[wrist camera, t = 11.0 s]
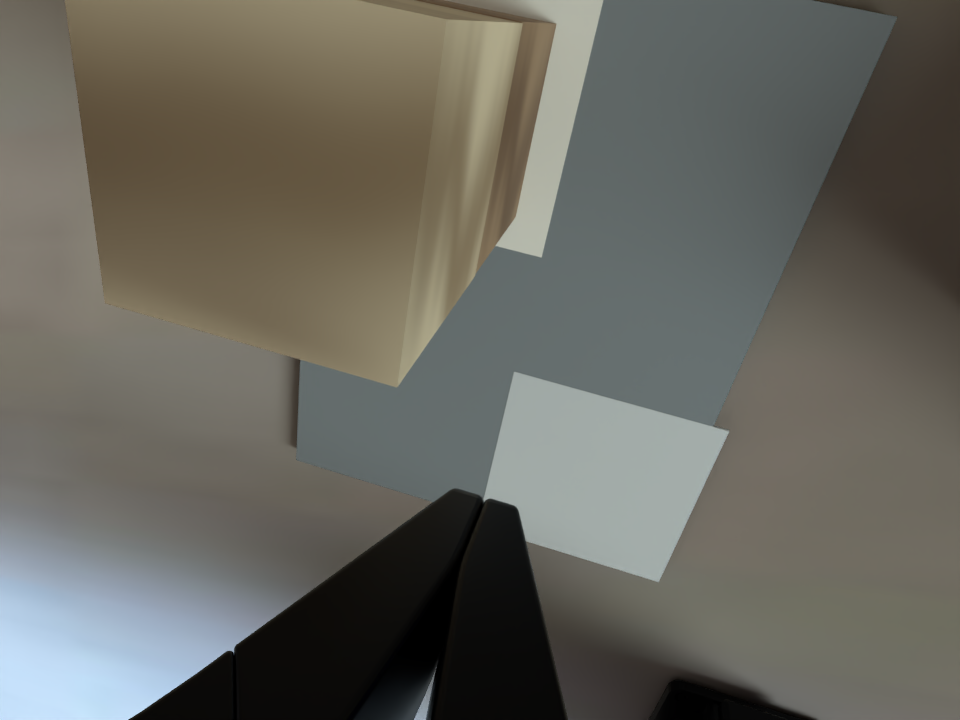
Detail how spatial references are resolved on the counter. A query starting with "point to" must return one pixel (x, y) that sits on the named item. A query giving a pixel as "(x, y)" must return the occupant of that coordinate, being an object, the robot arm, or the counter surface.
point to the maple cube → (292, 166)
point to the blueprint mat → (617, 273)
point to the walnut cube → (514, 121)
